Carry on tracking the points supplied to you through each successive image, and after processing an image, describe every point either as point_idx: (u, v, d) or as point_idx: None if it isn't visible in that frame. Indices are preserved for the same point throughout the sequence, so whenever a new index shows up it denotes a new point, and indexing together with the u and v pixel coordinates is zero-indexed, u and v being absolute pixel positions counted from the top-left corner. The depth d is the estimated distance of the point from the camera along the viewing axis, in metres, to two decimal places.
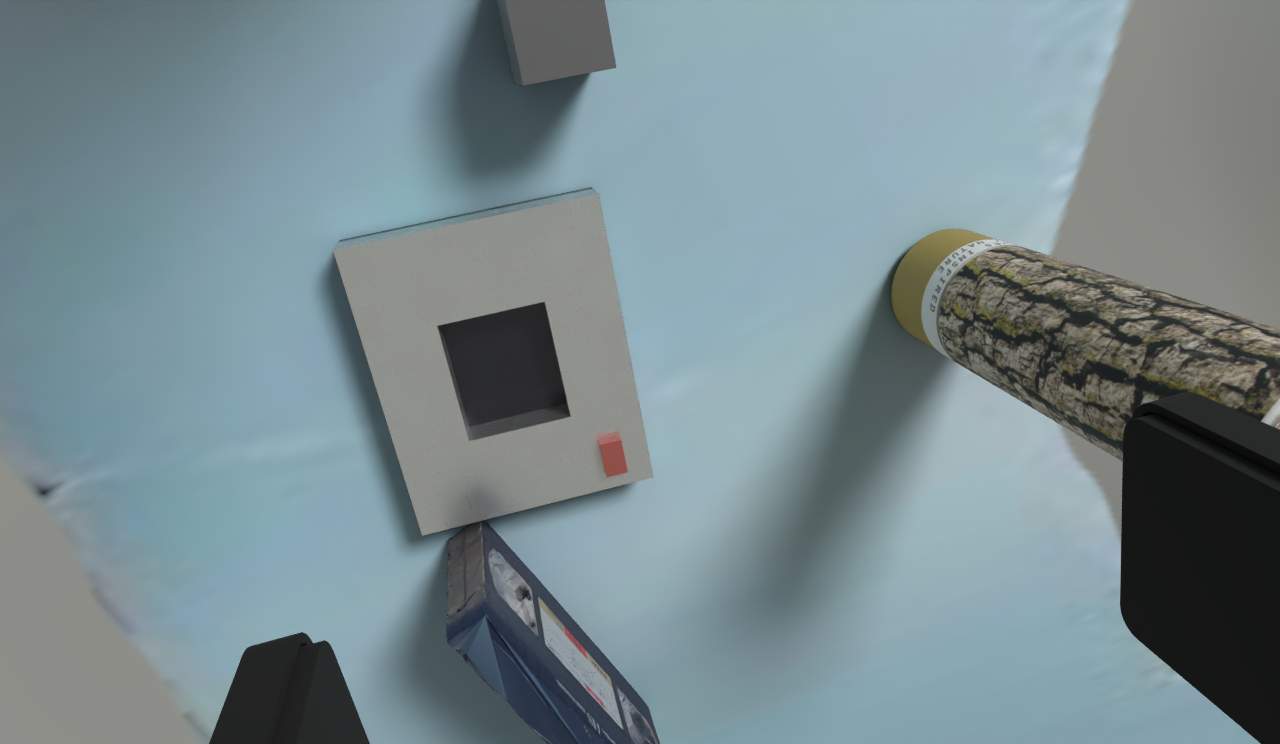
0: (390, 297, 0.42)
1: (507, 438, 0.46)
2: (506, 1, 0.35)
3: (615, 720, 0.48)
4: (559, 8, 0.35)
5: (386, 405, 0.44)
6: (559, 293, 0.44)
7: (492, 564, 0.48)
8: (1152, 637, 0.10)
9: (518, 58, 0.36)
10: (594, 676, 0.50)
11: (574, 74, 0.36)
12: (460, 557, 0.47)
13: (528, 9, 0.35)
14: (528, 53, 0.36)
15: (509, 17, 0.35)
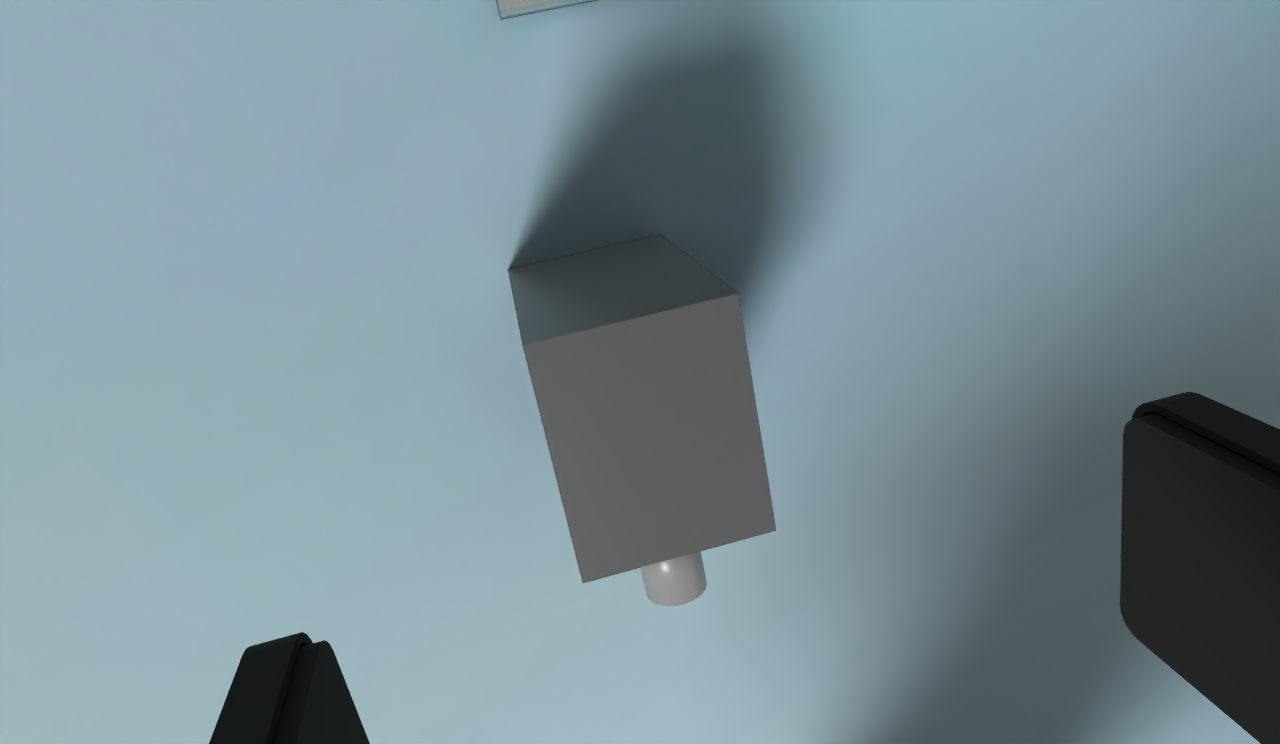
0: None
1: None
2: (761, 454, 0.17)
3: None
4: (654, 453, 0.16)
5: None
6: None
7: None
8: (1152, 637, 0.10)
9: (744, 348, 0.16)
10: None
11: (621, 323, 0.15)
12: None
13: (717, 446, 0.17)
14: (723, 360, 0.16)
15: (756, 425, 0.17)
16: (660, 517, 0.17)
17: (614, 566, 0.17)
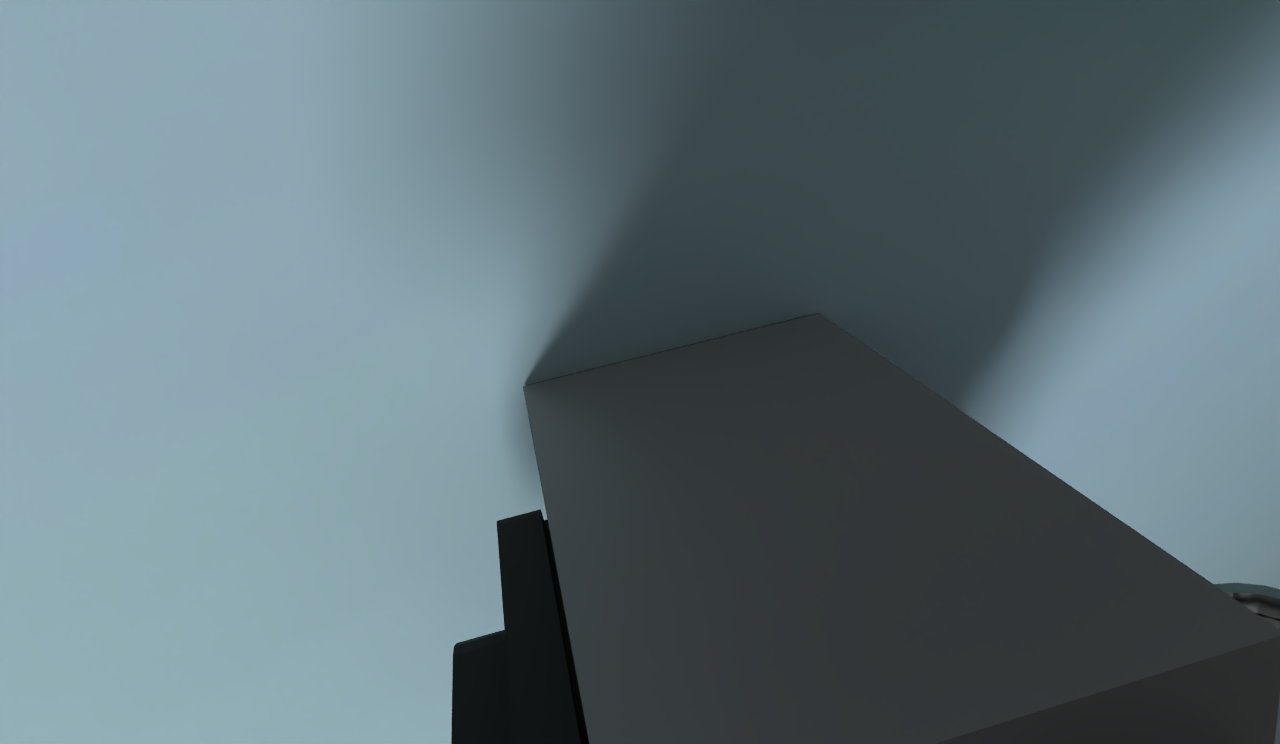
0: None
1: None
2: None
3: None
4: None
5: None
6: None
7: None
8: None
9: None
10: None
11: None
12: None
13: None
14: None
15: None
16: None
17: None
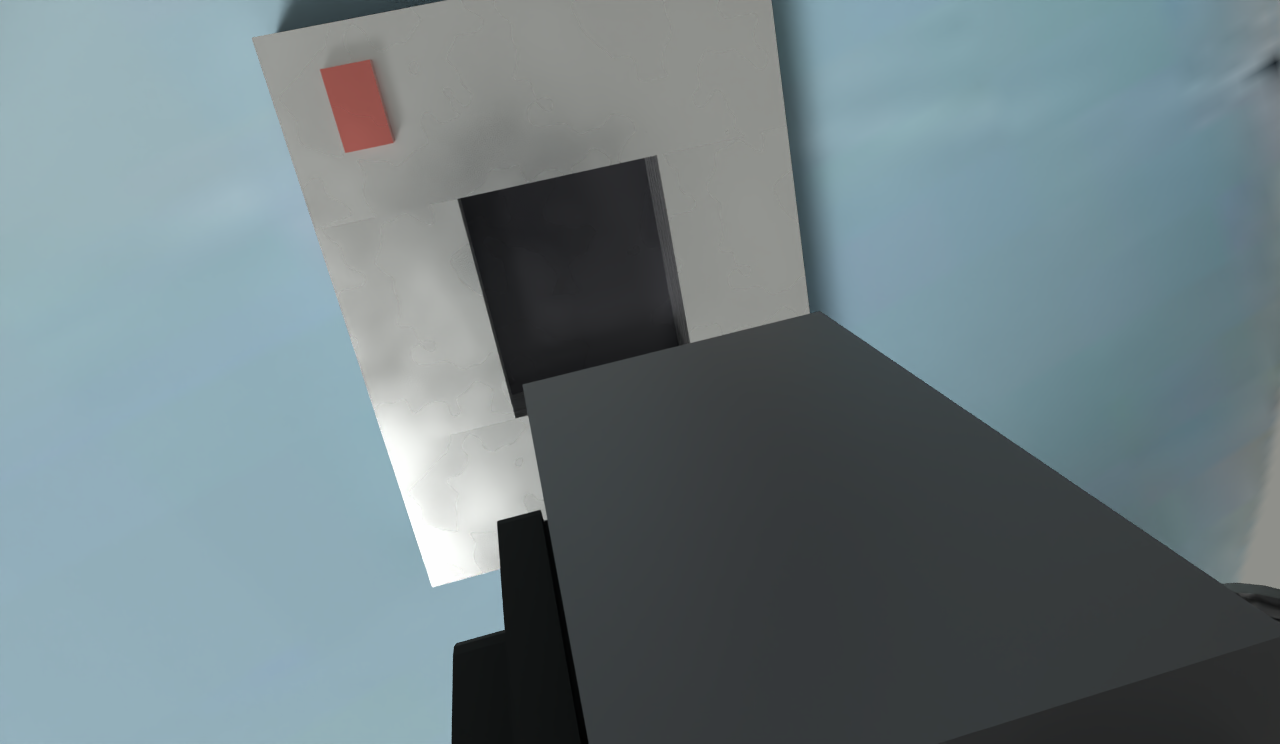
0: None
1: (582, 157, 0.23)
2: None
3: None
4: None
5: (792, 233, 0.25)
6: (489, 433, 0.25)
7: None
8: None
9: None
10: None
11: None
12: None
13: None
14: None
15: None
16: None
17: None
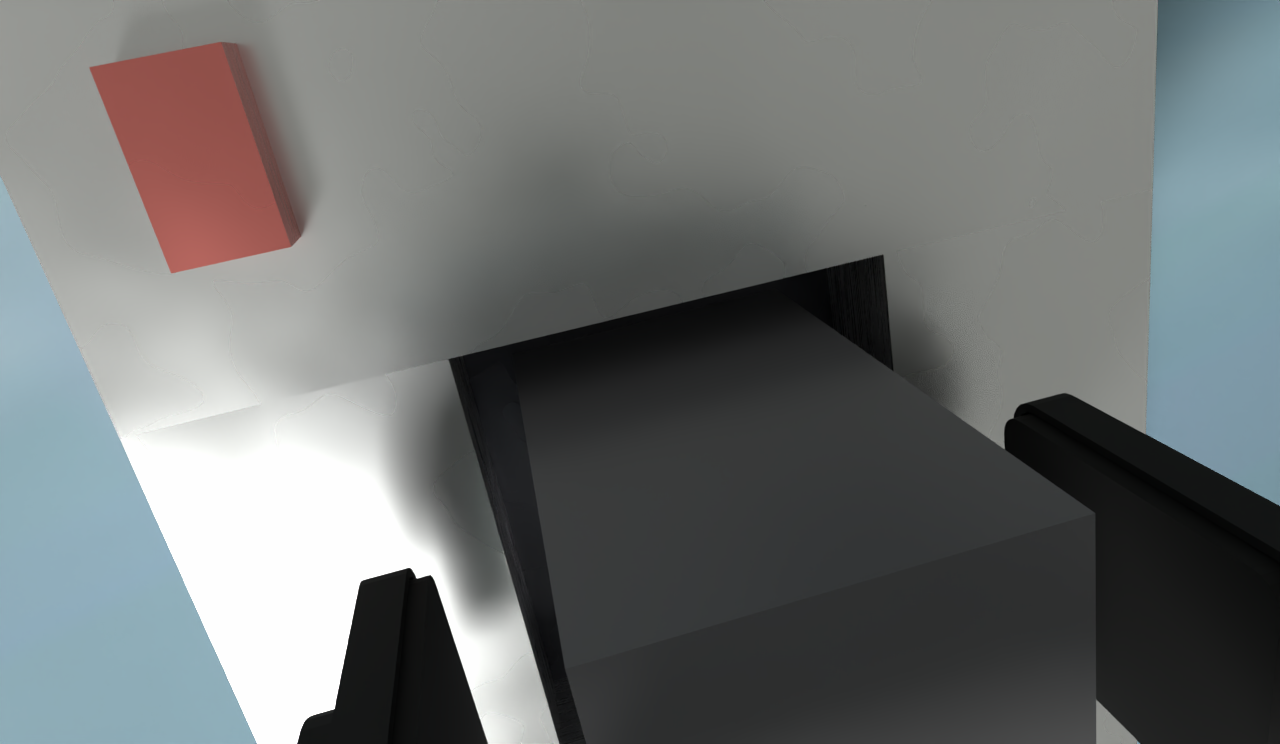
0: None
1: (726, 263, 0.10)
2: None
3: None
4: None
5: (1131, 402, 0.12)
6: None
7: None
8: None
9: (1087, 628, 0.07)
10: None
11: (813, 599, 0.06)
12: None
13: None
14: (1040, 661, 0.07)
15: None
16: None
17: None
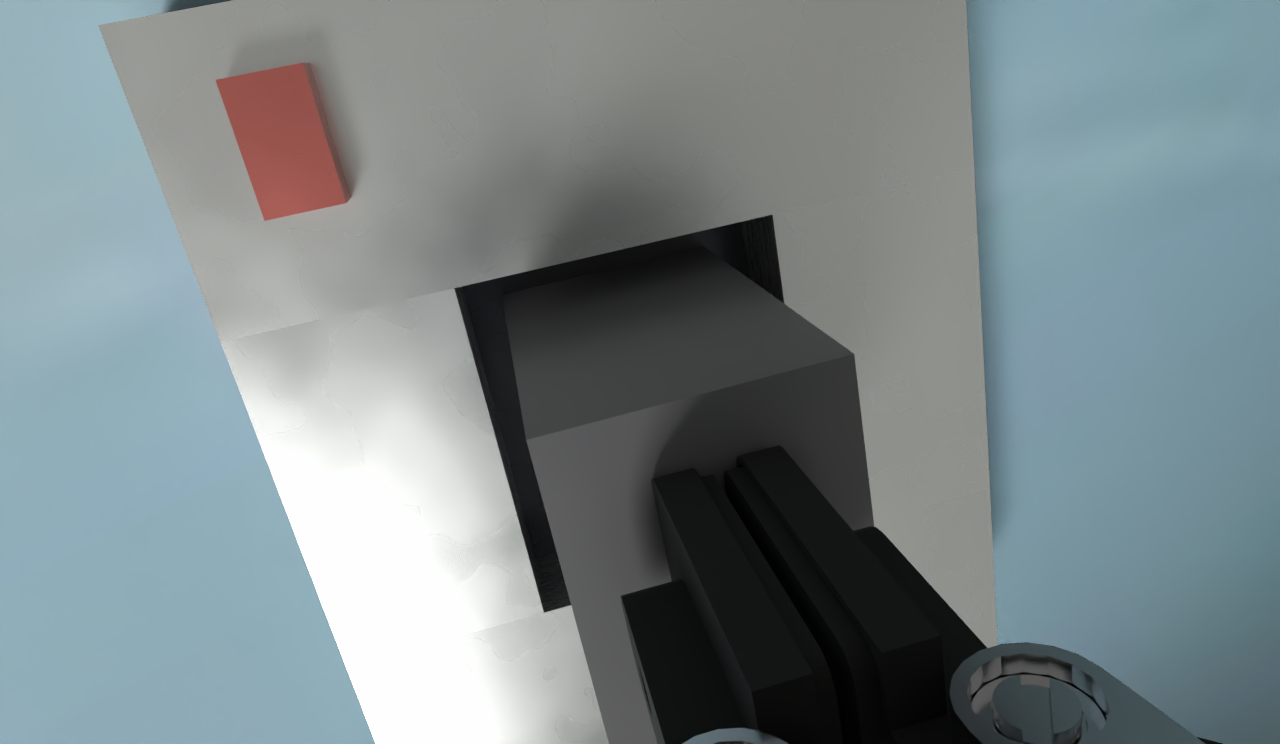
0: None
1: (656, 220, 0.14)
2: None
3: None
4: None
5: (970, 330, 0.16)
6: (504, 635, 0.16)
7: None
8: None
9: (859, 433, 0.11)
10: None
11: (677, 403, 0.10)
12: None
13: None
14: (828, 452, 0.11)
15: None
16: None
17: None
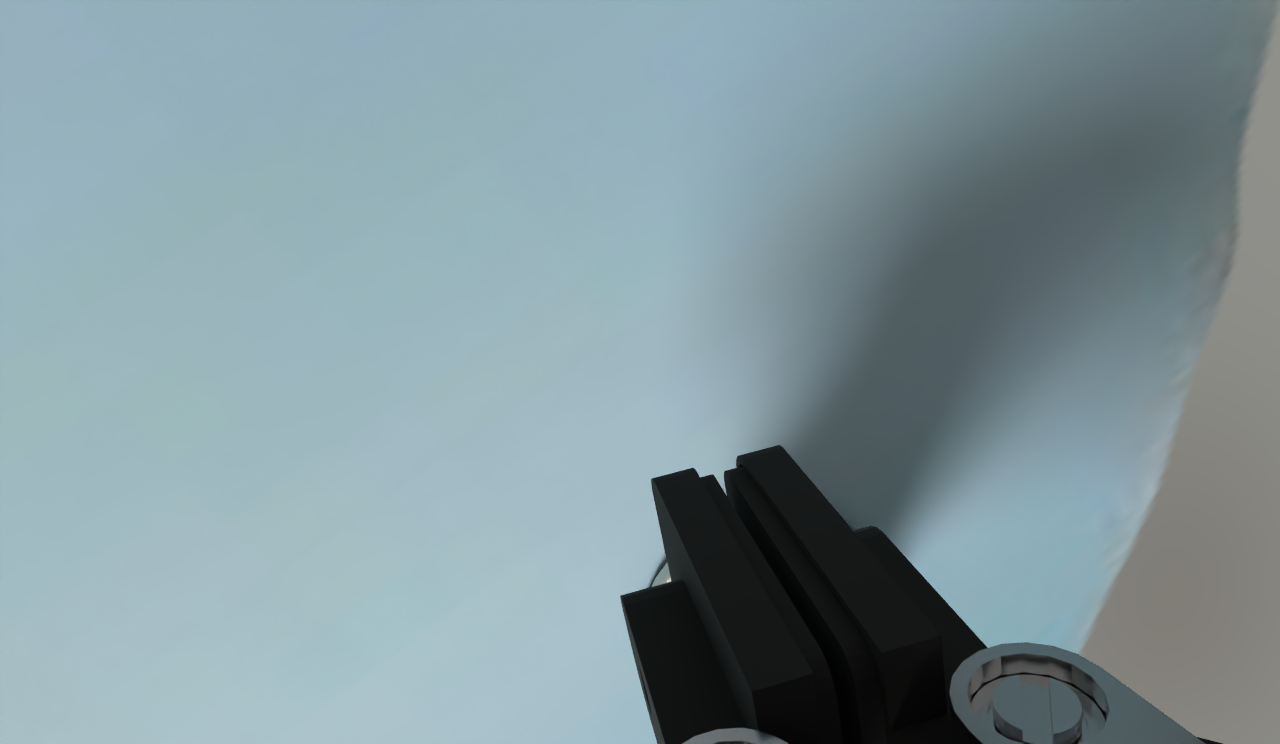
0: None
1: None
2: None
3: None
4: None
5: None
6: None
7: None
8: None
9: None
10: None
11: None
12: None
13: None
14: None
15: None
16: None
17: None
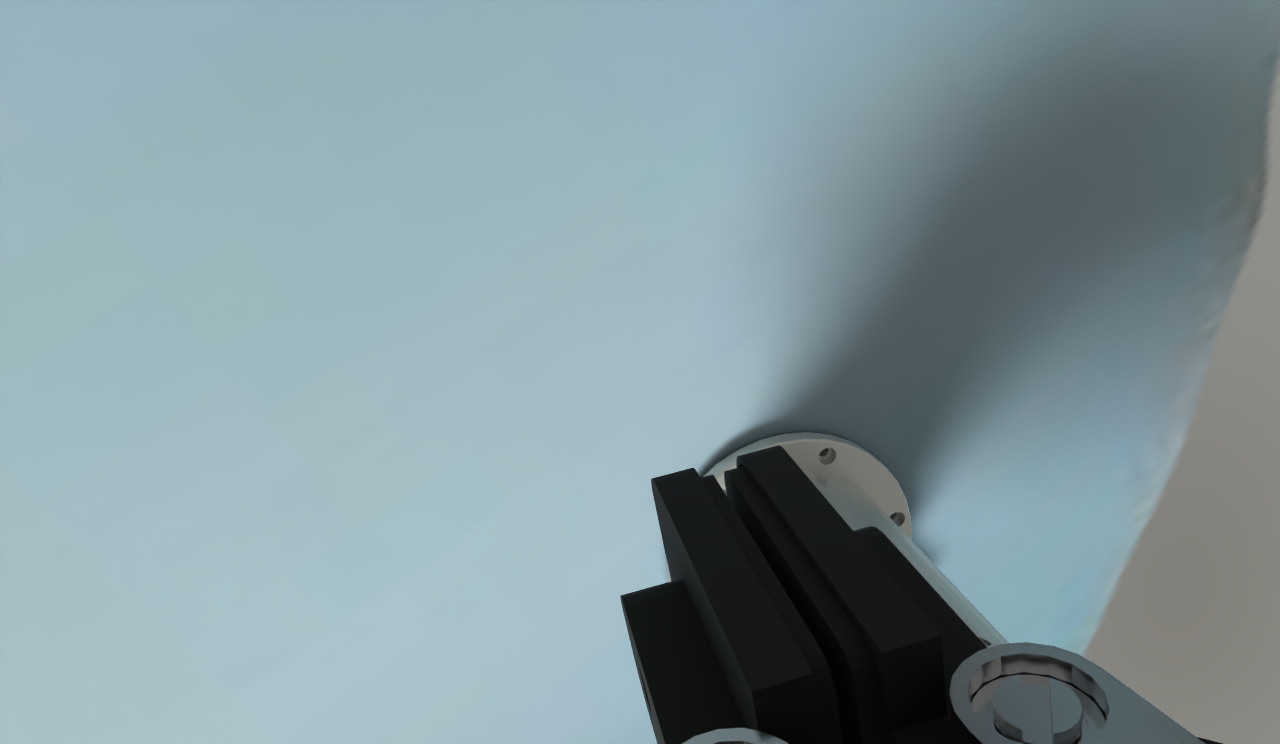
0: None
1: None
2: None
3: None
4: None
5: None
6: None
7: None
8: None
9: None
10: None
11: None
12: None
13: None
14: None
15: None
16: None
17: None
